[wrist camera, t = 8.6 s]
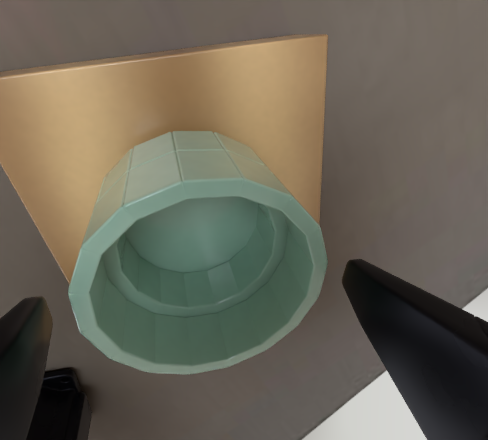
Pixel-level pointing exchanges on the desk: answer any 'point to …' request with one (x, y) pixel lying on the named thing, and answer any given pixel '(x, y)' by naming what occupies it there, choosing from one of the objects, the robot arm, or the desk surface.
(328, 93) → the desk surface
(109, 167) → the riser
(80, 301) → the bowl
